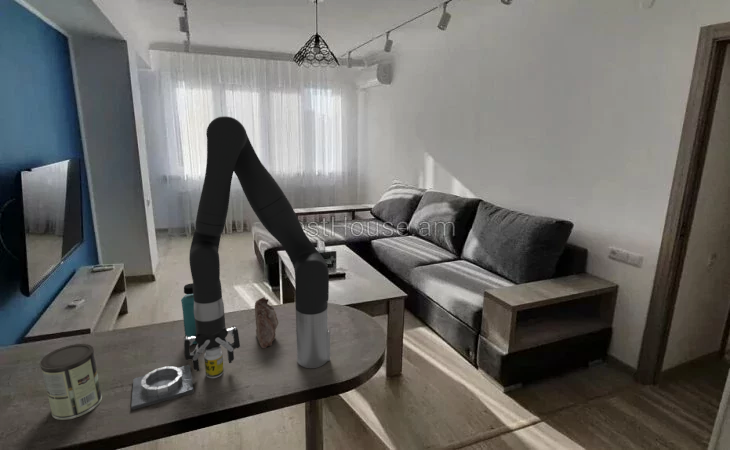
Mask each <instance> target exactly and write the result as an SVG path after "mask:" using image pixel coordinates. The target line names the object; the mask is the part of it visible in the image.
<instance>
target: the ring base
mask: <svg viewBox="0 0 730 450" xmlns="http://www.w3.org/2000/svg"><path fill="white" fill-rule="evenodd" d="M192 377H193V376H192V372H191V365H190V364H186V365H183V366H182V365H181V366H178V367H177V366H171V365H170V366H169V365H168V366H166V365H165V366H163V367H159V368H155V369H153V370H152V371H150V372H147V373H146V374H145V375H141V376H138V377H137V376H136V377H135V378H133V379H132V393H131V404H130V405H131V406H130V407H131V411H134V410H137V409H141V408H144V407H148V406H151V405H155V404H158V403H162V402H166V401H169V400H174V399H176V398H179V397H183V396H186V395H190V394H194V392H195V390H194V385H193V378H192Z"/></svg>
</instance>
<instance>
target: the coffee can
mask: <svg viewBox="0 0 730 450" xmlns="http://www.w3.org/2000/svg"><path fill="white" fill-rule="evenodd" d="M94 351H95V349H94V346H92V345H91V344H86V343H76V344H70V345H66V346H62V347H60V348H58V349H55V350H53V351H51V352H50V353H48V354H46V355H45V356H44V357H42V358H41V360H39V361H40V362H39V367H40V369H41V374H42V378H43V381H44V385H45V388H46V389H45V390H46V394H47V398H48V403H49V407H50V411H51V416H52V418H53V419H55V420H58V421H59V420H60V421H66V420H72V419H73V420H74V419H76V418H78V417H82V416H84V415H86V414H88V413H90V412H91V411H93V410H94V409H96V407H98V405H100V403H101V402H102V399H103V394H102V391H101V385H100V380H99V375H98V371H97V364H96V359H95V354H94Z"/></svg>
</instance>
